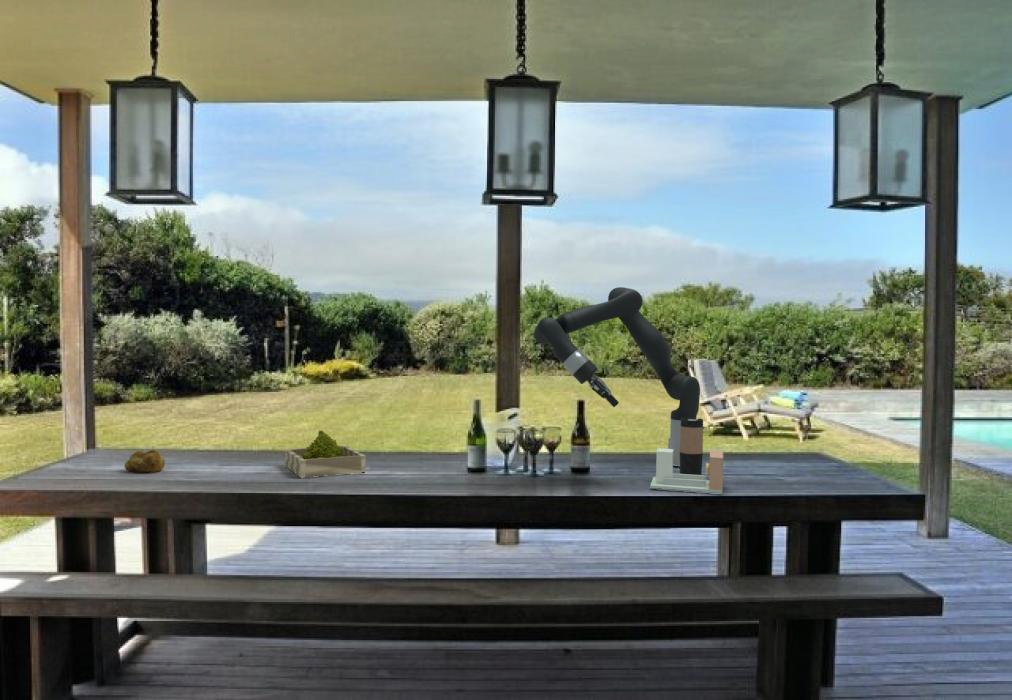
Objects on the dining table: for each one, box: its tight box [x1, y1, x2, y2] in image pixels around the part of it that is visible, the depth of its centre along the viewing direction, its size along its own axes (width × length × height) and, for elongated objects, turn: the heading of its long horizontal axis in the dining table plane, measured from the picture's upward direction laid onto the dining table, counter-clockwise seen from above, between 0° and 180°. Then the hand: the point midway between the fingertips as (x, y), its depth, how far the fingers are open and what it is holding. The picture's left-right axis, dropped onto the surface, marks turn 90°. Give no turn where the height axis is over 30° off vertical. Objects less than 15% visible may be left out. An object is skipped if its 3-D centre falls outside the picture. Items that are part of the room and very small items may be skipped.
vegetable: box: [302, 430, 344, 460], centre depth 274 cm, size 15×16×15 cm
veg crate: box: [284, 445, 367, 479], centre depth 275 cm, size 23×22×6 cm
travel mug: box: [679, 418, 704, 475], centre depth 269 cm, size 8×8×20 cm
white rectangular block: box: [655, 447, 674, 483], centre depth 254 cm, size 5×6×10 cm
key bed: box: [649, 449, 724, 494], centre depth 253 cm, size 22×14×12 cm, turn 75°
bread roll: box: [124, 449, 166, 474], centre depth 269 cm, size 13×10×8 cm
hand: (616, 405), depth 258 cm, fingers closed
